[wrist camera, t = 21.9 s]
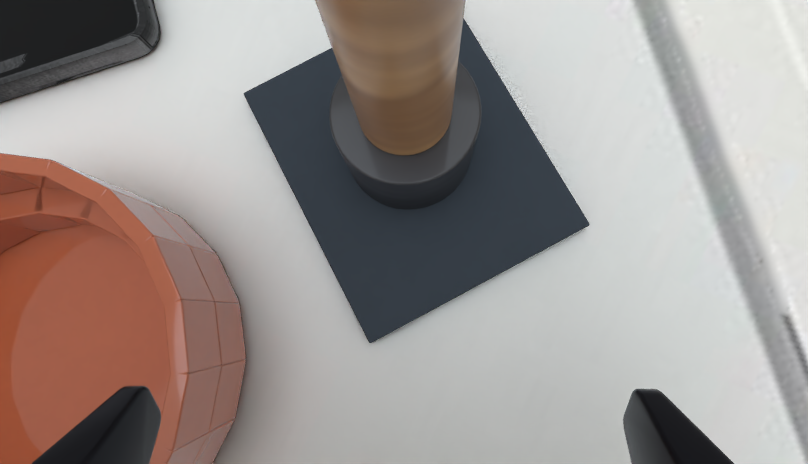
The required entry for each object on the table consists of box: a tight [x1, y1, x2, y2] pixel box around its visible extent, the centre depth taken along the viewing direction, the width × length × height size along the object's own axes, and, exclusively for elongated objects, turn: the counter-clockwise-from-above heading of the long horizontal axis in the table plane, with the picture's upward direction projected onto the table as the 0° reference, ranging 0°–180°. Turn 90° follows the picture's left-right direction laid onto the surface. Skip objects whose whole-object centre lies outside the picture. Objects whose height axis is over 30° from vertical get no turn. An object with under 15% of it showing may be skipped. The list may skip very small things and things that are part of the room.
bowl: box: [0, 153, 246, 464], centre depth 18 cm, size 14×14×6 cm
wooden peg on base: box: [315, 0, 481, 209], centre depth 15 cm, size 5×5×13 cm
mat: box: [244, 18, 589, 343], centre depth 21 cm, size 12×10×1 cm
